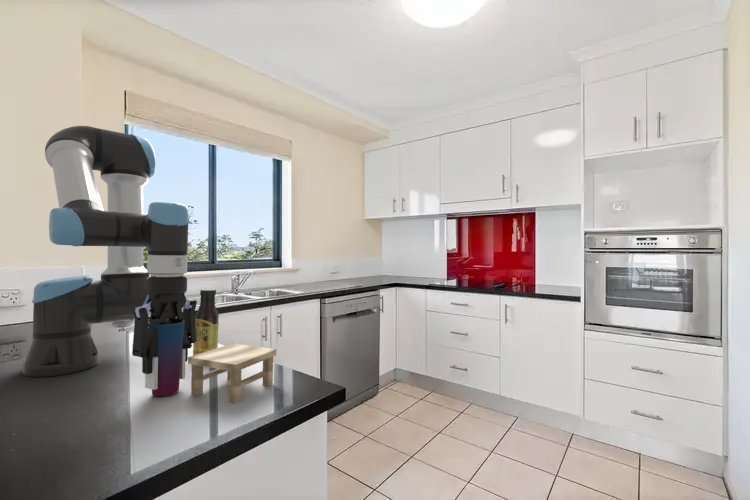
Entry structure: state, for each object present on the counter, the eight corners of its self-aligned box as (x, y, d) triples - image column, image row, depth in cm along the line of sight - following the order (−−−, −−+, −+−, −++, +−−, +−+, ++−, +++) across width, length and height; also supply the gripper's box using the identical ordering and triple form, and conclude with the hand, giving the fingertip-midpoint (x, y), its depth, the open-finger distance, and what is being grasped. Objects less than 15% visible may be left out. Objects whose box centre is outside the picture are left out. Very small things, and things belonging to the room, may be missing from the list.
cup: (167, 399, 75) (168, 325, 75) (139, 396, 77) (140, 323, 77) (190, 387, 82) (191, 319, 82) (163, 384, 83) (165, 317, 83)
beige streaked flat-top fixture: (187, 394, 79) (188, 357, 79) (232, 376, 91) (232, 343, 91) (235, 404, 74) (236, 364, 74) (275, 383, 86) (276, 349, 86)
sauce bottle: (187, 361, 102) (188, 289, 103) (205, 355, 108) (206, 287, 108) (205, 364, 100) (206, 290, 100) (223, 358, 106) (224, 288, 106)
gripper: (136, 278, 69) (134, 402, 69) (215, 273, 87) (213, 371, 87) (110, 277, 72) (108, 395, 72) (191, 272, 90) (189, 367, 90)
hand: (165, 382), depth 79 cm, fingers closed on cup, 6 cm apart
